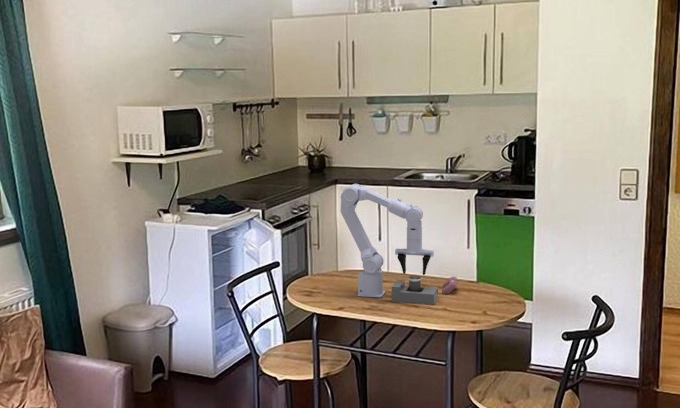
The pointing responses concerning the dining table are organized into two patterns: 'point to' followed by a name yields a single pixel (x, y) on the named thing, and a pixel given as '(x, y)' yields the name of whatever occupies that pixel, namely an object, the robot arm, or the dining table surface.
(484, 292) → the dining table surface
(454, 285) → the pink rounded piece
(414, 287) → the lens
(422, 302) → the camera body
